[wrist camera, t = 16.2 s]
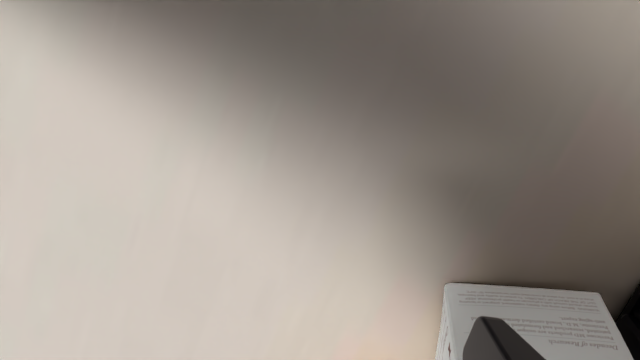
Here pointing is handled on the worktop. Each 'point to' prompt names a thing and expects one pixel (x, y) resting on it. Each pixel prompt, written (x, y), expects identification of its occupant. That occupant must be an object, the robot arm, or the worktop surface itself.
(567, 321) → the supplement box
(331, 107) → the worktop surface
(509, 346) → the robot arm
